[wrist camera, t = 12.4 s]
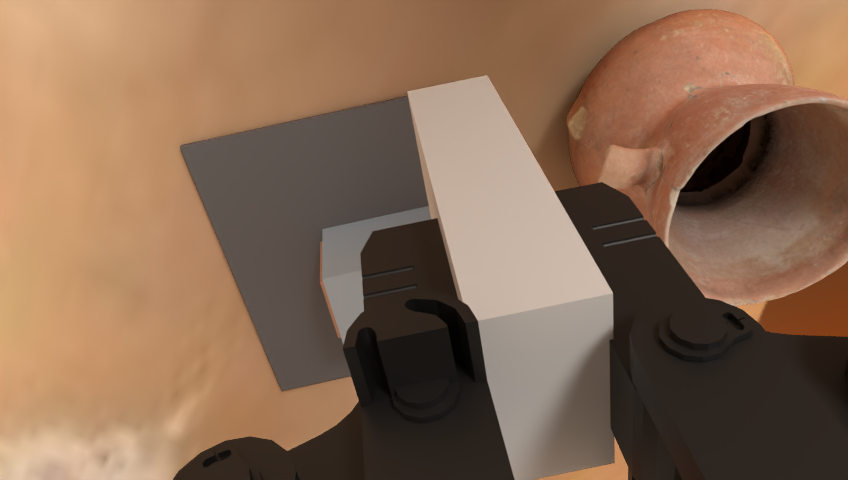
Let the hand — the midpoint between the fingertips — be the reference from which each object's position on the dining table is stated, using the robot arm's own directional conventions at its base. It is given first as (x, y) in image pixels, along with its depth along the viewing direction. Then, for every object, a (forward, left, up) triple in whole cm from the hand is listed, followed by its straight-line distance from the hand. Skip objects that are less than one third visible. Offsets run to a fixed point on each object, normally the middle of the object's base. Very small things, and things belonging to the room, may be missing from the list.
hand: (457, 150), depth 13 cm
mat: (+21, -6, -29) cm, 36 cm away
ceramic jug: (+15, +17, -29) cm, 37 cm away
